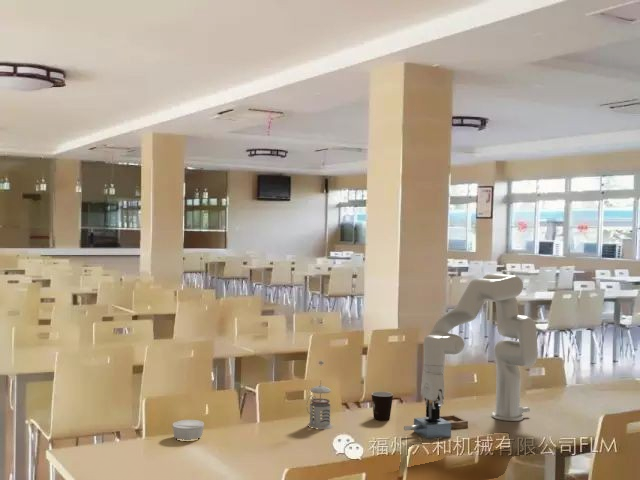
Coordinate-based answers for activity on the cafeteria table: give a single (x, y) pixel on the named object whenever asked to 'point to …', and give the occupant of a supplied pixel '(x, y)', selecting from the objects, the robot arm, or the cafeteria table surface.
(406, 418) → the cafeteria table surface
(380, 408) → the coffee mug
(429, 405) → the orange grey cylinder
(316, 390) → the french press
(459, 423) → the tray
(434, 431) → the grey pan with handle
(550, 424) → the cafeteria table surface
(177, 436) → the ramekin
